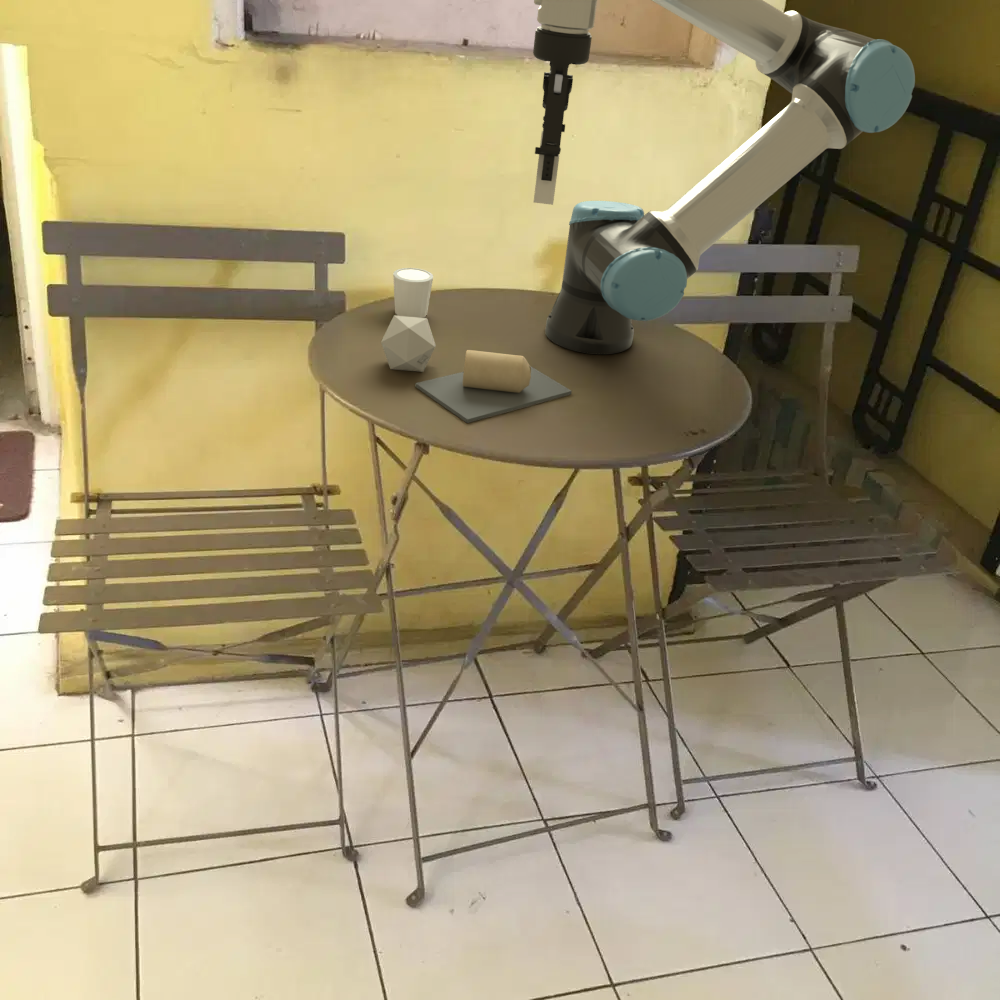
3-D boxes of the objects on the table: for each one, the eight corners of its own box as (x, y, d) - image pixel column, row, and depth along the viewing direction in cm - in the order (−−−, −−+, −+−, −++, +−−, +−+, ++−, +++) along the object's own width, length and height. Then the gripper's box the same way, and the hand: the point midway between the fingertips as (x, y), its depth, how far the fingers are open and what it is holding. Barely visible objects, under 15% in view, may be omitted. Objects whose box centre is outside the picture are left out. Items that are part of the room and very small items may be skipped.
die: (412, 388, 154) (449, 336, 152) (365, 353, 152) (403, 301, 151) (414, 383, 162) (449, 334, 160) (369, 351, 160) (405, 301, 159)
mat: (517, 362, 164) (518, 358, 164) (571, 394, 156) (571, 390, 155) (415, 386, 153) (415, 383, 152) (467, 423, 144) (467, 419, 144)
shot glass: (415, 323, 173) (418, 284, 170) (383, 312, 176) (385, 273, 172) (438, 312, 178) (441, 274, 175) (406, 302, 181) (408, 264, 177)
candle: (467, 343, 153) (533, 350, 153) (464, 375, 156) (529, 382, 156) (464, 360, 148) (532, 367, 148) (461, 393, 151) (528, 400, 151)
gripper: (538, 13, 145) (521, 165, 156) (533, 37, 124) (514, 211, 135) (591, 20, 145) (570, 171, 156) (594, 45, 124) (570, 217, 135)
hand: (544, 190), depth 146 cm, fingers open, 13 cm apart
